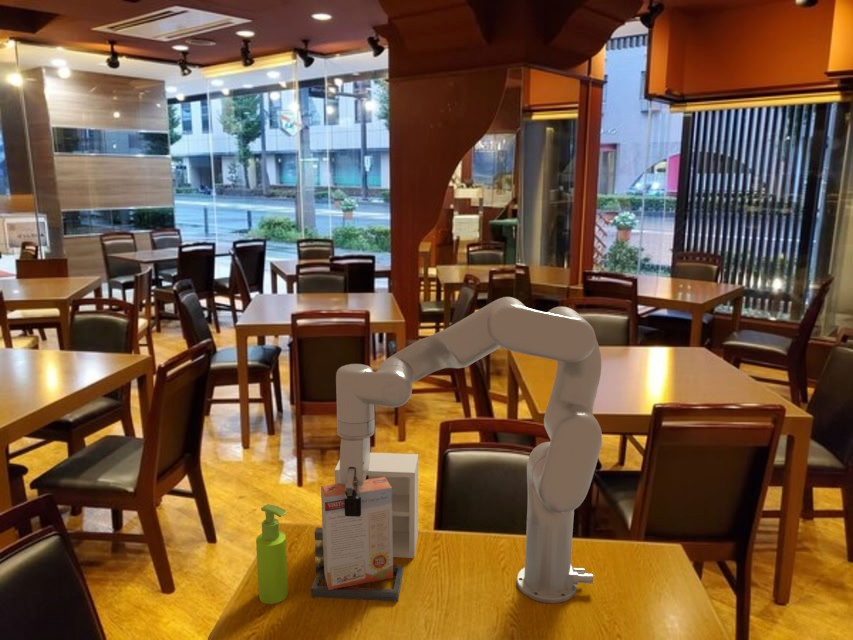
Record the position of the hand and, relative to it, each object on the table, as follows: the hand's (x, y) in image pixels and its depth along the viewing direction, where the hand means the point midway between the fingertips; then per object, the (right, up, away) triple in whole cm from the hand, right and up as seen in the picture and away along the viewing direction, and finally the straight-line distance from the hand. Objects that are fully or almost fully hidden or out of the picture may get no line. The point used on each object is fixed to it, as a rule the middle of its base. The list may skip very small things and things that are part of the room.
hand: (357, 503), depth 132 cm
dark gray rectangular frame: (0, -18, +4) cm, 19 cm away
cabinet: (+3, -15, +19) cm, 25 cm away
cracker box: (0, -17, +3) cm, 17 cm away
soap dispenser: (-17, -19, 0) cm, 26 cm away
